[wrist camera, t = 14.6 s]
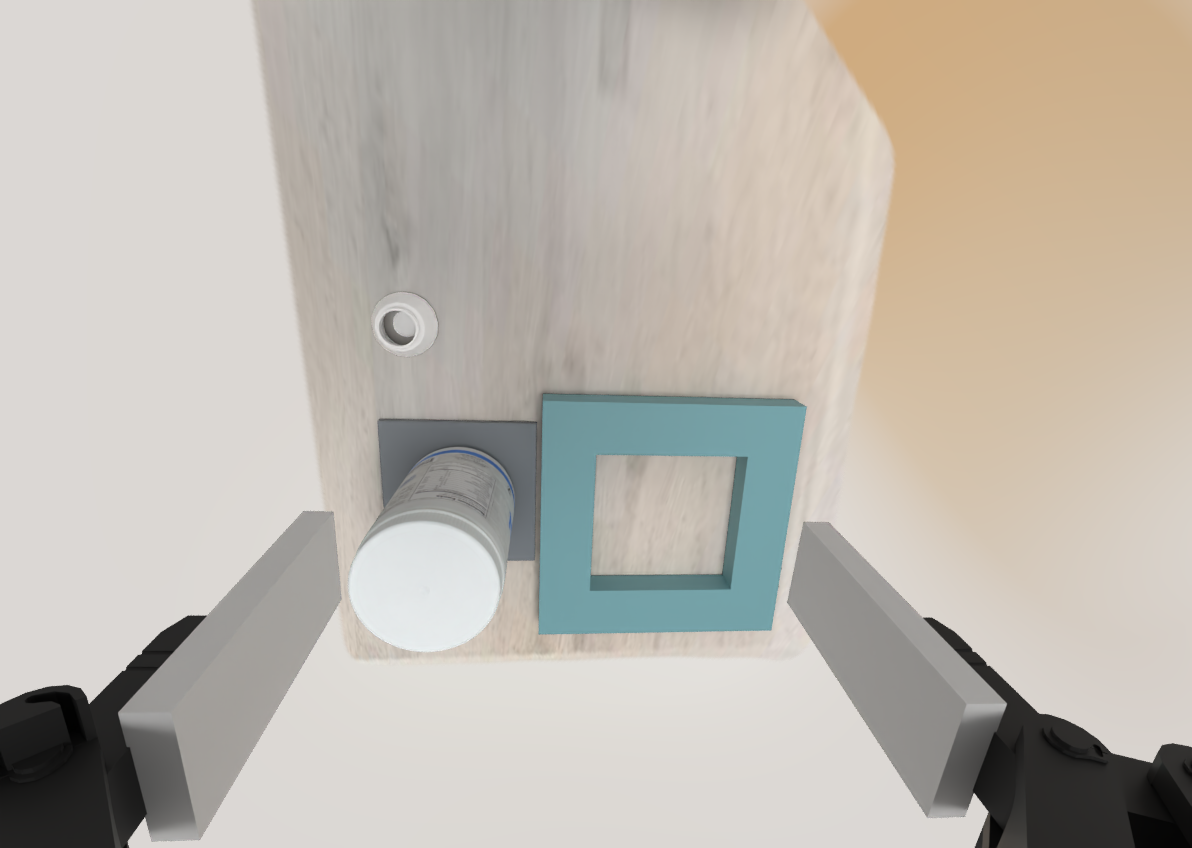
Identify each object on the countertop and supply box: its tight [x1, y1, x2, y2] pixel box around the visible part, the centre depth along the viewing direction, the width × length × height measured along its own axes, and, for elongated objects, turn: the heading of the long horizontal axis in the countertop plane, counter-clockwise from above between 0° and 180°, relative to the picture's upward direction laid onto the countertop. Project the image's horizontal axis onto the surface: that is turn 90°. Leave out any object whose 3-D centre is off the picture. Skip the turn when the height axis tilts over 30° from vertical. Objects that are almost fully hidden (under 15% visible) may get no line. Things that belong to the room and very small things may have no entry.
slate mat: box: [378, 419, 537, 561], centre depth 48 cm, size 13×13×1 cm
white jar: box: [371, 292, 438, 357], centre depth 43 cm, size 5×3×5 cm
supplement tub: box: [348, 447, 515, 652], centre depth 41 cm, size 10×10×15 cm
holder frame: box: [539, 394, 807, 634], centre depth 49 cm, size 22×22×2 cm
